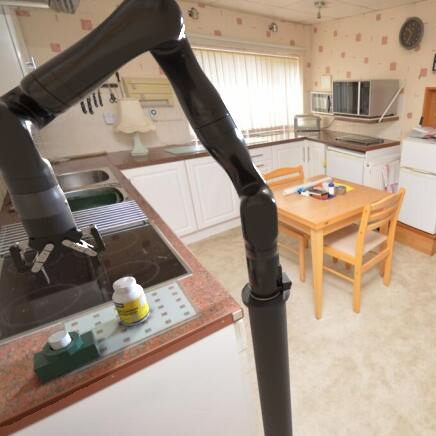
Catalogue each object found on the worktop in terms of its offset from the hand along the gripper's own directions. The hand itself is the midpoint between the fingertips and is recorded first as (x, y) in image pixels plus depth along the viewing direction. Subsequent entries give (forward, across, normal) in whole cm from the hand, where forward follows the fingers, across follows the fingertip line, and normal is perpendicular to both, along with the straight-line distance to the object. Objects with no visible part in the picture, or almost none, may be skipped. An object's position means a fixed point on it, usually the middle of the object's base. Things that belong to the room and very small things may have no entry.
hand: (72, 275), depth 64 cm
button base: (+18, +5, +6) cm, 19 cm away
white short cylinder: (+12, +5, +6) cm, 15 cm away
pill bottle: (+18, -8, 0) cm, 20 cm away
